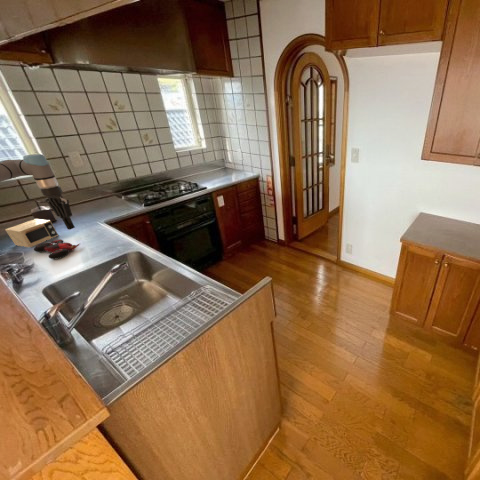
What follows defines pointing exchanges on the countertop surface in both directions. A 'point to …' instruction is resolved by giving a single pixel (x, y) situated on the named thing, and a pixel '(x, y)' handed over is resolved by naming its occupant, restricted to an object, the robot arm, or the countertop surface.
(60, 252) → the toy motorcycle
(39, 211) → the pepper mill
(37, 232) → the mini oven
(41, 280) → the countertop surface
